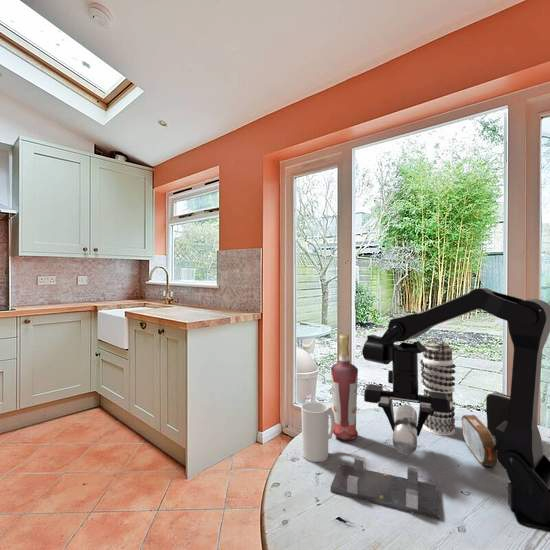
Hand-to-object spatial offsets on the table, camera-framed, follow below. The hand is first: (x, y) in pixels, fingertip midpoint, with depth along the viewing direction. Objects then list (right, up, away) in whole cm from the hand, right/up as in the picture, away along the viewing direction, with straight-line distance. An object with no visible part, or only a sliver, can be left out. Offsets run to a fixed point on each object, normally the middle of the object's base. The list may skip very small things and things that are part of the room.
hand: (405, 433), depth 79 cm
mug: (-20, -7, +3) cm, 22 cm away
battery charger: (+31, -7, +11) cm, 34 cm away
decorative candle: (+16, -7, +16) cm, 23 cm away
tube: (0, -1, 0) cm, 1 cm away
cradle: (-9, -6, -11) cm, 16 cm away
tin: (+18, -7, +2) cm, 20 cm away
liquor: (-12, -7, +12) cm, 18 cm away
